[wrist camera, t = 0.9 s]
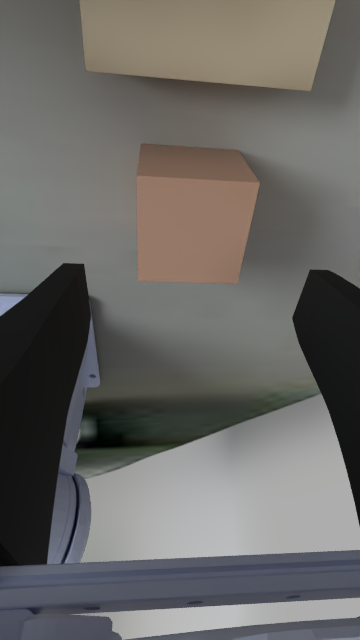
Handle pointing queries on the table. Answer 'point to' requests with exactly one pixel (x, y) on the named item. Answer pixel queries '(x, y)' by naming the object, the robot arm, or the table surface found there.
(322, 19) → the oak block
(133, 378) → the table surface
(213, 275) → the terracotta cube
